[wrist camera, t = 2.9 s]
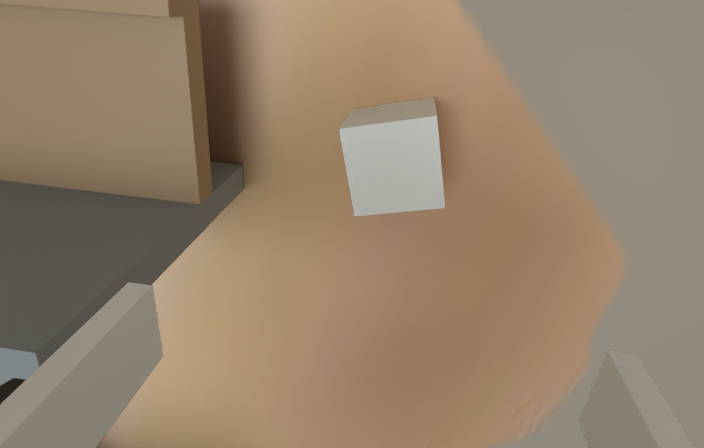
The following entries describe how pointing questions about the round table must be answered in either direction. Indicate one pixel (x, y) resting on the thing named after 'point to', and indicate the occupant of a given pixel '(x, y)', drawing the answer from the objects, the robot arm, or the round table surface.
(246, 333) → the round table surface
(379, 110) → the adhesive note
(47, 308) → the board
